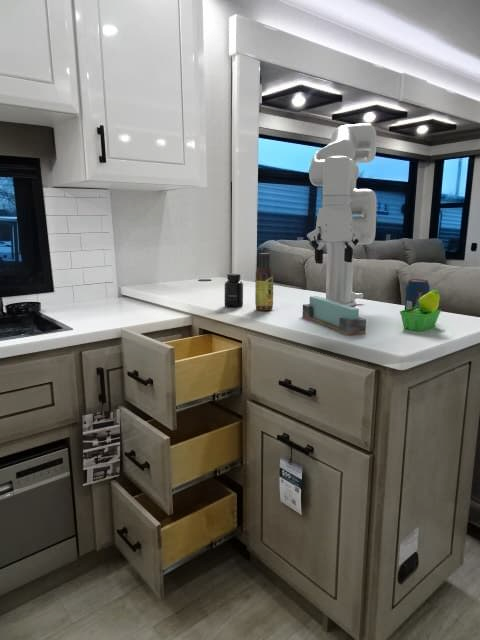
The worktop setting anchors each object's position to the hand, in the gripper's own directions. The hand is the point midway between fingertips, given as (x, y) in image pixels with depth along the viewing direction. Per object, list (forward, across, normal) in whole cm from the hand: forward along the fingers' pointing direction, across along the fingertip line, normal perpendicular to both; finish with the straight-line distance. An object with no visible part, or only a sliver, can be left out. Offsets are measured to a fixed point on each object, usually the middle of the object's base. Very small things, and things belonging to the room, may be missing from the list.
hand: (333, 262), depth 131 cm
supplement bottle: (+19, +19, -38) cm, 46 cm away
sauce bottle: (+19, +11, -28) cm, 35 cm away
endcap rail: (+18, +1, +1) cm, 18 cm away
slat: (+18, +1, +1) cm, 18 cm away
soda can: (+19, -29, +2) cm, 35 cm away
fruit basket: (+19, -21, +14) cm, 32 cm away
